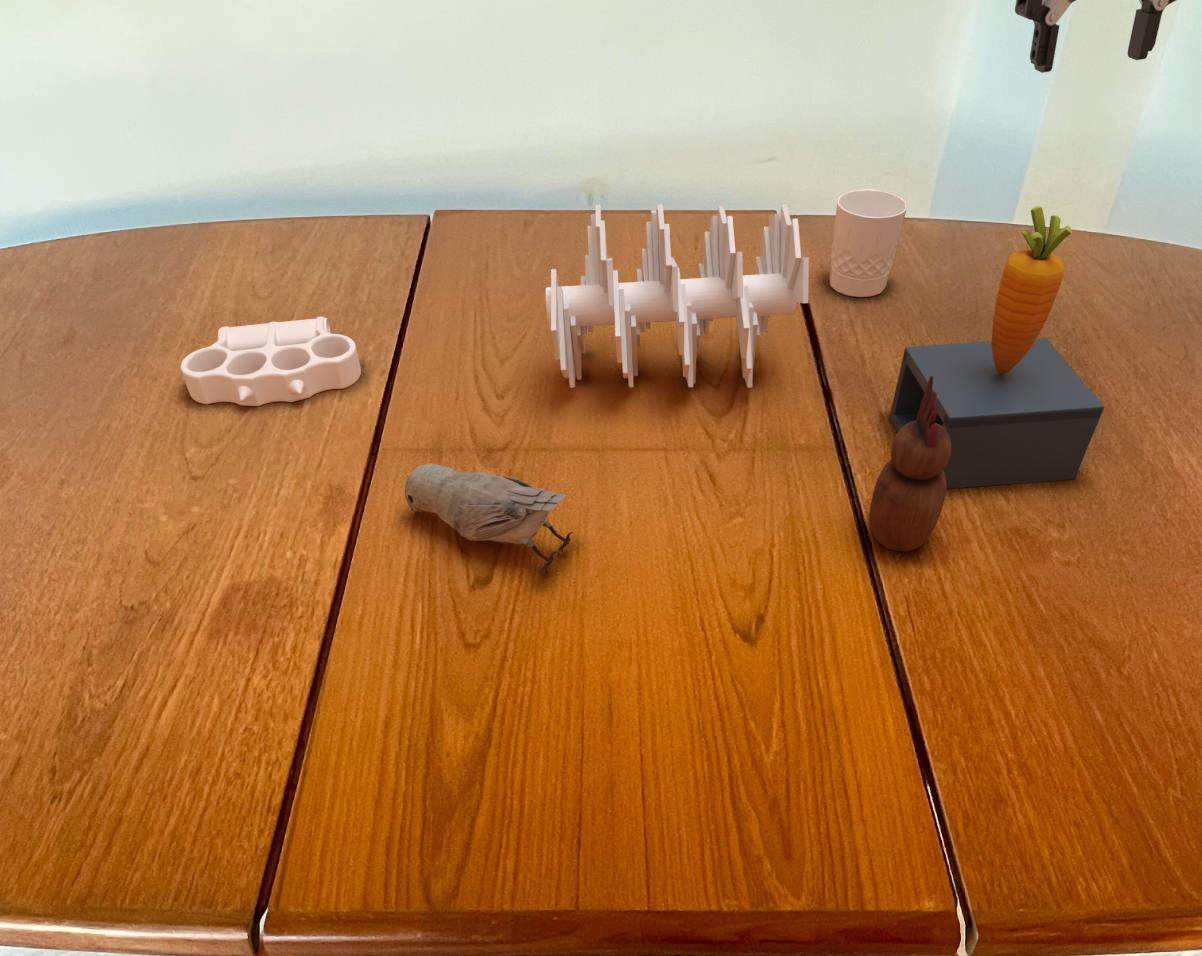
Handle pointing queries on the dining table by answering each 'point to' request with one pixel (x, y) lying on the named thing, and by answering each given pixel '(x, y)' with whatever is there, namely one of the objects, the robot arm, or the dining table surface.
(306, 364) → the white brass knuckles
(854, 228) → the white cup
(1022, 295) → the carrot
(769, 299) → the spiral staircase
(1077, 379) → the shelf
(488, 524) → the decorative bird
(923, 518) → the wooden figurine
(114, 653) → the dining table surface
